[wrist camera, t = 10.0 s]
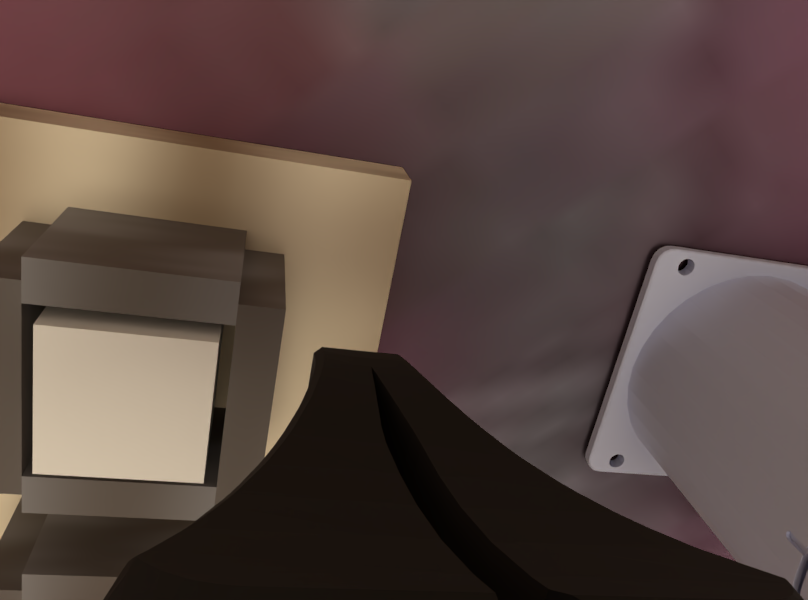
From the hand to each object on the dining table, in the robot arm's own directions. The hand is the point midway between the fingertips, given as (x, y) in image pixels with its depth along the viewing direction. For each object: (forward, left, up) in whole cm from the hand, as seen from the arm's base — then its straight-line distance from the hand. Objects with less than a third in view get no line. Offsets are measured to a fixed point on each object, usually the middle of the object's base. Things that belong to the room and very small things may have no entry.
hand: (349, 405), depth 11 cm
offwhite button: (+4, +3, -7) cm, 9 cm away
